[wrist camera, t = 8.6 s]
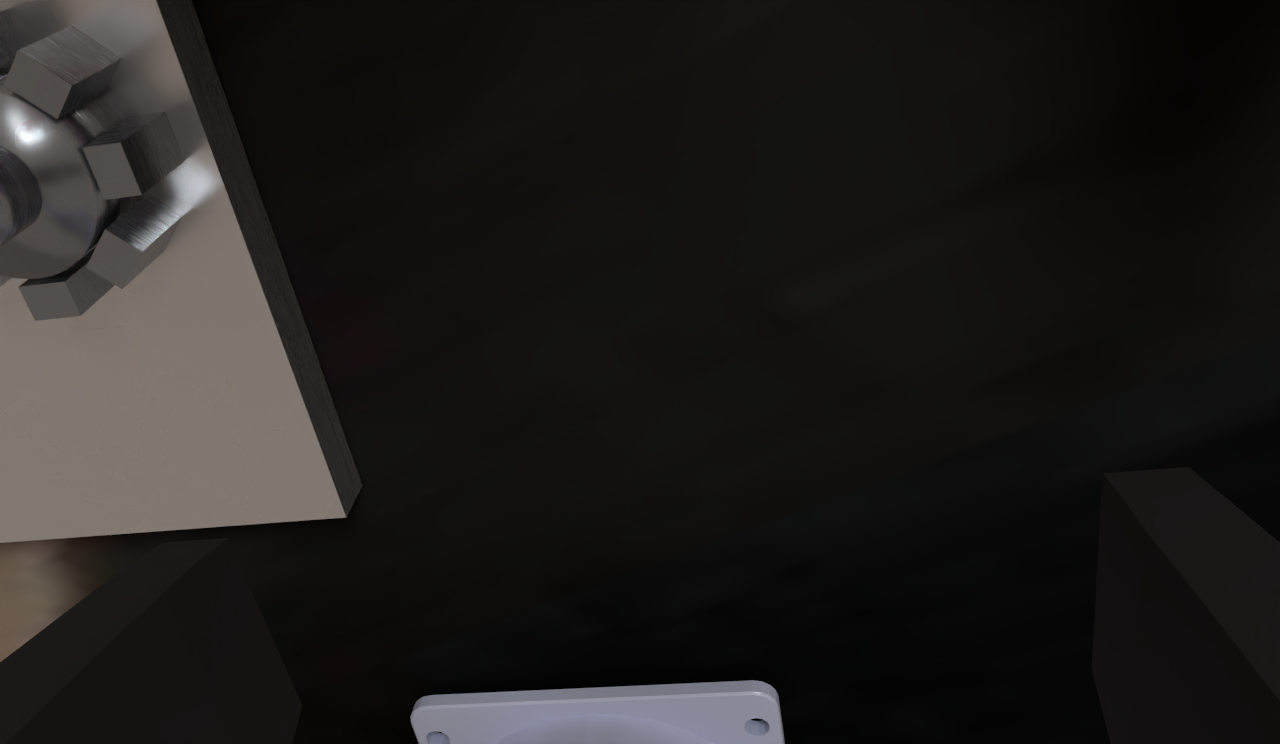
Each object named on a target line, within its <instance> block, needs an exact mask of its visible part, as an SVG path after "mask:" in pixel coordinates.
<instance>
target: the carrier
mask: <svg viewBox="0 0 1280 744" xmlns="http://www.w3.org/2000/svg"><path fill="white" fill-rule="evenodd" d="M362 486H363V485H362V482H361V479H360V477H359V474H358V471H357V468H356V465H355V462H354V460H353V457H352V454H351V451H350V448H349V445H348V443H347V440H346V437H345V434H344V431H343V428H342V426H341V423H340V420H339V417H338V414H337V411H336V408H335V406H334V403H333V400H332V397H331V394H330V391H329V389H328V386H327V383H326V380H325V377H324V374H323V372H322V369H321V366H320V363H319V360H318V357H317V355H316V352H315V349H314V346H313V343H312V340H311V338H310V335H309V332H308V329H307V326H306V323H305V320H304V318H303V315H302V312H301V309H300V306H299V303H298V301H297V298H296V295H295V292H294V289H293V286H292V284H291V281H290V278H289V275H288V272H287V269H286V267H285V264H284V261H283V258H282V255H281V252H280V250H279V247H278V244H277V241H276V238H275V235H274V232H273V230H272V227H271V224H270V221H269V218H268V215H267V213H266V210H265V207H264V204H263V201H262V198H261V196H260V193H259V190H258V187H257V184H256V181H255V179H254V176H253V173H252V170H251V167H250V164H249V162H248V159H247V156H246V153H245V150H244V147H243V144H242V142H241V139H240V136H239V133H238V130H237V127H236V125H235V122H234V119H233V116H232V113H231V110H230V108H229V105H228V102H227V99H226V96H225V93H224V91H223V88H222V85H221V82H220V79H219V76H218V74H217V71H216V68H215V65H214V62H213V59H212V56H211V54H210V51H209V48H208V45H207V42H206V39H205V37H204V34H203V31H202V28H201V25H200V22H199V20H198V17H197V14H196V11H195V8H194V5H193V3H192V0H0V543H6V542H20V541H33V540H47V539H60V538H74V537H87V536H101V535H114V534H128V533H142V532H155V531H169V530H182V529H196V528H209V527H223V526H237V525H250V524H264V523H277V522H291V521H304V520H318V519H331V518H345V517H347V515H348V513H349V511H350V509H351V507H352V505H353V503H354V501H355V499H356V497H357V495H358V493H359V491H360V489H361V487H362Z"/></svg>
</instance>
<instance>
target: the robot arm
mask: <svg viewBox="0 0 1280 744" xmlns="http://www.w3.org/2000/svg"><path fill="white" fill-rule="evenodd" d="M1092 671H1093V675H1094V679H1095V683H1096V687H1097V691H1098V695H1099V699H1100V703H1101V707H1102V711H1103V715H1104V719H1105V723H1106V727H1107V731H1108V735H1109V738H1110V742H1111V744H1280V543H1279V542H1278V541H1277V540H1275V539H1274V538H1273V537H1272V536H1271V535H1269V534H1268V533H1267V532H1266V531H1265V530H1263V529H1262V528H1261V527H1260V526H1259V525H1257V524H1256V523H1255V522H1254V521H1253V520H1251V519H1250V518H1249V517H1248V516H1247V515H1245V514H1244V513H1243V512H1242V511H1241V510H1239V509H1238V508H1237V507H1236V506H1235V505H1233V504H1232V503H1231V502H1230V501H1229V500H1227V499H1226V498H1225V497H1224V496H1223V495H1221V494H1220V493H1219V492H1218V491H1217V490H1215V489H1214V488H1213V487H1212V486H1211V485H1209V484H1208V483H1207V482H1206V481H1205V480H1203V479H1202V478H1201V477H1200V476H1199V475H1197V474H1196V473H1195V472H1194V471H1192V470H1191V469H1190V468H1189V467H1183V468H1170V469H1156V470H1143V471H1129V472H1115V473H1103V478H1102V496H1101V514H1100V532H1099V550H1098V568H1097V585H1096V603H1095V621H1094V639H1093V657H1092ZM301 709H302V704H301V702H300V699H299V697H298V695H297V693H296V690H295V688H294V686H293V684H292V681H291V679H290V677H289V675H288V672H287V670H286V668H285V666H284V663H283V661H282V659H281V657H280V654H279V652H278V650H277V647H276V645H275V643H274V641H273V638H272V636H271V634H270V632H269V629H268V627H267V625H266V623H265V620H264V618H263V616H262V614H261V611H260V609H259V607H258V605H257V602H256V600H255V598H254V596H253V593H252V591H251V589H250V587H249V584H248V582H247V580H246V578H245V575H244V573H243V571H242V568H241V566H240V564H239V562H238V559H237V557H236V555H235V553H234V550H233V548H232V546H231V544H230V541H229V539H228V538H222V539H208V540H194V541H181V542H167V543H163V544H161V545H160V546H158V547H157V548H155V549H154V550H152V551H150V552H149V553H147V554H146V555H144V556H143V557H141V558H140V559H138V560H137V561H135V562H134V563H132V564H131V565H129V566H128V567H127V568H125V569H124V570H122V571H121V572H120V573H118V574H117V575H115V576H114V577H113V578H111V579H110V580H108V581H107V582H106V583H104V584H103V585H102V586H100V587H99V588H98V589H96V590H95V591H94V592H92V593H91V594H90V595H88V596H87V597H85V598H84V599H83V600H81V601H80V602H79V603H78V604H76V605H75V606H74V607H72V608H71V609H70V610H68V611H67V612H66V613H64V614H63V615H62V616H60V617H59V618H58V619H56V620H55V621H54V622H53V623H51V624H50V625H49V626H47V627H46V628H45V629H43V630H42V631H41V632H40V633H38V634H37V635H36V636H34V637H33V638H32V639H30V640H29V641H28V642H26V643H25V644H24V645H23V646H21V647H20V648H19V649H17V650H16V651H15V652H13V653H12V654H11V655H9V656H8V657H7V658H6V659H4V660H3V661H2V662H0V744H293V740H294V736H295V732H296V728H297V724H298V720H299V717H300V713H301ZM754 718H758V719H763V720H762V721H753V720H751V719H754ZM411 724H412V727H413V729H414V732H415V735H416V737H417V740H418V743H419V744H785V740H784V733H783V725H782V718H781V711H780V704H779V696H778V694H777V692H776V690H775V689H774V688H773V687H772V686H771V685H769V684H767V683H764V682H762V681H754V680H749V681H727V682H705V683H684V684H662V685H640V686H618V687H597V688H575V689H553V690H531V691H510V692H488V693H466V694H444V695H429V696H424V697H422V698H420V699H419V700H417V701H416V703H415V705H414V708H413V711H412V714H411ZM439 732H442V733H439Z"/></svg>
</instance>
